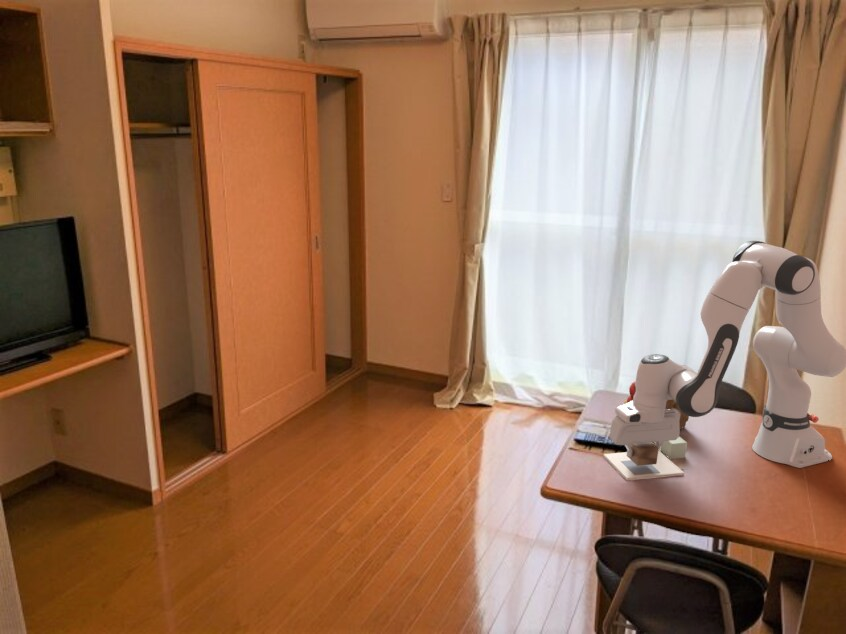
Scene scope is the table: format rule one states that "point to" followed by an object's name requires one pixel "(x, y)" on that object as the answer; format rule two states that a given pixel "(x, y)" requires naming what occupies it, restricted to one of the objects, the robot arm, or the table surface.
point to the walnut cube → (644, 453)
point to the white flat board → (642, 467)
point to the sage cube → (674, 448)
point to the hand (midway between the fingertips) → (642, 454)
